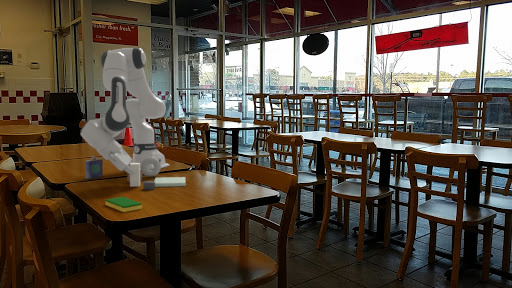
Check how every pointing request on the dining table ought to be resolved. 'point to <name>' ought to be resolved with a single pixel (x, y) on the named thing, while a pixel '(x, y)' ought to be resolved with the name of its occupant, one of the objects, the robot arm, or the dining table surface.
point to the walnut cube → (129, 176)
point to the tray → (170, 181)
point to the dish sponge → (123, 204)
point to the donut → (146, 162)
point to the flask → (93, 168)
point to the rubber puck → (149, 185)
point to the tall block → (136, 177)
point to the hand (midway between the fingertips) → (135, 172)
